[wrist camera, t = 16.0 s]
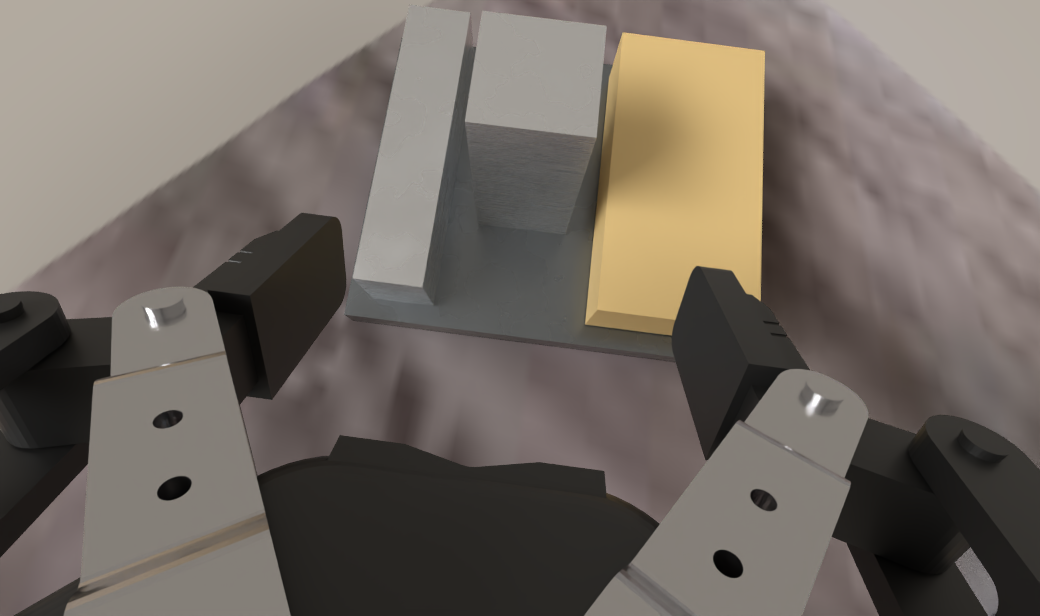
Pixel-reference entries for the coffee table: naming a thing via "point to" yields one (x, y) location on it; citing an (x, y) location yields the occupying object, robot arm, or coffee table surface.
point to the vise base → (468, 220)
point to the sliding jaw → (676, 178)
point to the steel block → (532, 118)
